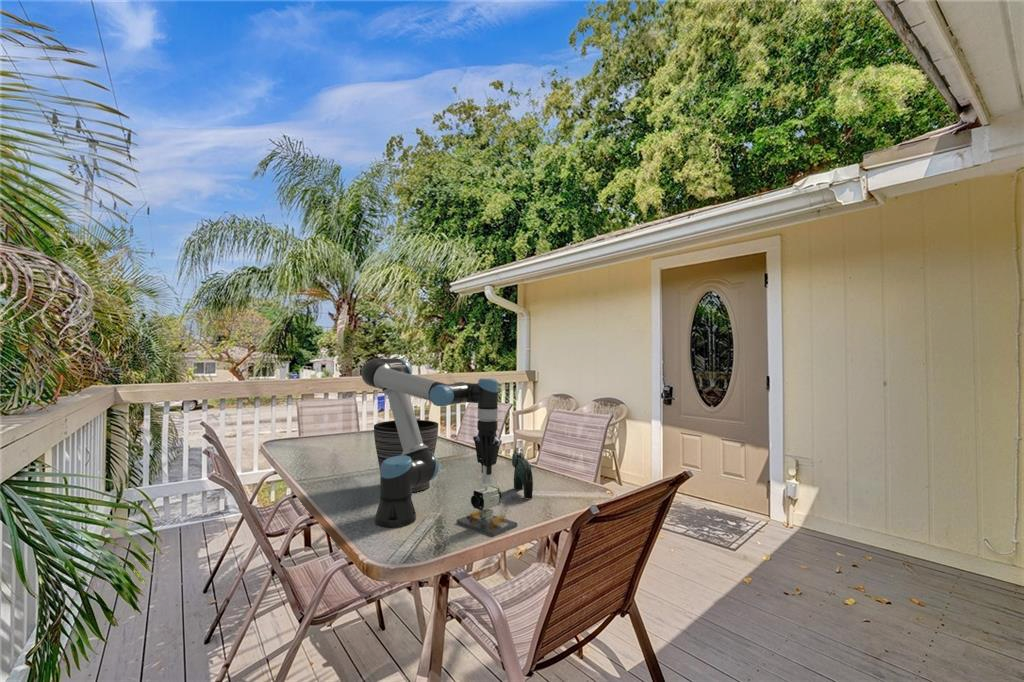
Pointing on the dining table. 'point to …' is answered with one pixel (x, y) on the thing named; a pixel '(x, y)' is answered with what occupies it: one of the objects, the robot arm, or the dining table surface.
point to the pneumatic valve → (486, 501)
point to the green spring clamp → (522, 474)
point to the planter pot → (391, 443)
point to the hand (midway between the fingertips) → (486, 482)
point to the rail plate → (487, 523)
